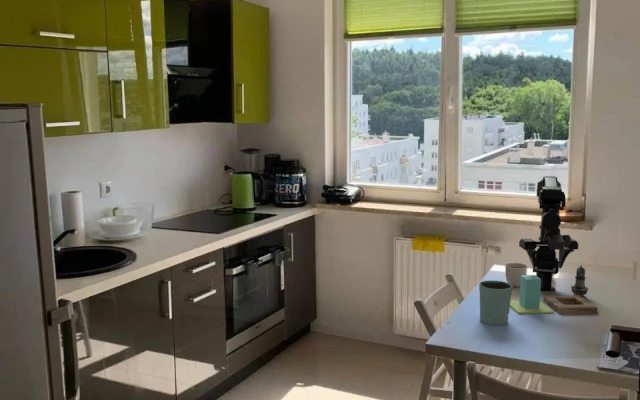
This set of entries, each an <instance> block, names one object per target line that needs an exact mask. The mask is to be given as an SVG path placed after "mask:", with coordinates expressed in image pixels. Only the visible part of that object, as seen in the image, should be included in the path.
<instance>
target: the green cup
mask: <svg viewBox="0 0 640 400" xmlns="http://www.w3.org/2000/svg"><path fill="white" fill-rule="evenodd" d="M478 286H479V320H480V322H481V323H483V324H484V325H489V326H493V327H494V326H498V327H499V326H505V325H507V324H508V322H509V313H510V308H511V307H510V301H512V300H511V298H512V292H513V285H512V284H511V283H509V282H505V281H500V280H491V279H490V280H483V281H480V282H479V283H478Z"/></svg>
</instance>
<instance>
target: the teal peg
mask: <svg viewBox="0 0 640 400" xmlns="http://www.w3.org/2000/svg"><path fill="white" fill-rule="evenodd" d="M519 285H520V286H519V287H520V288H519V300H520V301H519V304H520V305H521V306H523V307H524V308H539V307H540V301H541V291H542V290H541V279H540V278H538V277H537V276H536V274H535V275H534V274H528V275H522V274H521V275H520V284H519Z"/></svg>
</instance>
